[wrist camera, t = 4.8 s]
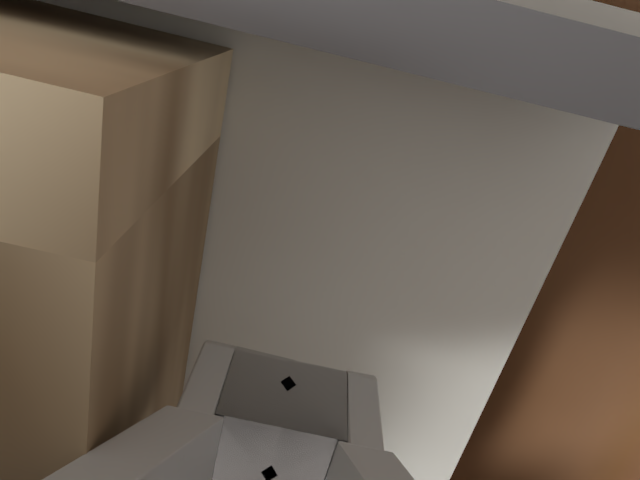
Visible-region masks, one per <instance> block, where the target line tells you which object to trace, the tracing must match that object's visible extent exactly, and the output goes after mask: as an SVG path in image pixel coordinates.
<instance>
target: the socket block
mask: <svg viewBox="0 0 640 480" xmlns="http://www.w3.org/2000/svg"><path fill="white" fill-rule="evenodd" d="M232 54H233V49H231V48H227V47H223V46H219V45H215V44H211V43H207V42H203V41H199V40H195V39H191V38H187V37H183V36H179V35H175V34H170V33H166V32H162V31H158V30H154V29H150V28H146V27H142V26H138V25H134V24H130V23H126V22H122V21H118V20H114V19H110V18H105V17H101V16H97V15H93V14H89V13H85V12H81V11H77V10H73V9H69V8H65V7H61V6H57V5H53V4H49V3H45V2H41V1H36V0H0V480H42V479H44V478H46V477H47V476H49V475H51V474H52V473H54V472H56V471H57V470H59V469H61V468H62V467H64V466H66V465H67V464H69V463H71V462H72V461H74V460H76V459H77V458H79V457H81V456H82V455H84V454H87V453H88V452H89V451H91V450H93V449H94V448H96V447H98V446H99V445H101V444H103V443H104V442H106V441H108V440H109V439H111V438H113V437H114V436H116V435H118V434H119V433H121V432H123V431H124V430H126V429H128V428H129V427H131V426H133V425H135V424H136V423H138V422H140V421H141V420H143V419H145V418H146V417H148V416H150V415H151V414H153V413H155V412H156V411H158V410H160V409H161V408H163V407H165V406H166V405H169V406H174V407H177V404H178V402H179V400H180V397H181V395H182V393H183V386H184V380H185V373H186V366H187V359H188V352H189V346H190V339H191V332H192V325H193V319H194V312H195V305H196V298H197V291H198V285H199V278H200V271H201V264H202V258H203V251H204V244H205V237H206V231H207V224H208V217H209V210H210V203H211V197H212V190H213V183H214V176H215V170H216V163H217V156H218V149H219V142H220V136H221V129H222V122H223V115H224V109H225V102H226V95H227V88H228V81H229V75H230V68H231V61H232Z"/></svg>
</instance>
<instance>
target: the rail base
mask: <svg viewBox="0 0 640 480" xmlns="http://www.w3.org/2000/svg"><path fill="white" fill-rule="evenodd" d="M36 1H41V2H45V3H49V4H53V5H57V6H61V7H65V8H69V9H73V10H77V11H81V12H85V13H89V14H93V15H97V16H101V17H105V18H110V19H114V20H118V21H122V22H126V23H130V24H134V25H138V26H142V27H146V28H150V29H154V30H158V31H162V32H166V33H170V34H175V35H179V36H183V37H187V38H191V39H195V40H199V41H203V42H207V43H211V44H215V45H219V46H223V47H227V48H231V49H233V54H232V61H231V68H230V75H229V81H228V88H227V95H226V102H225V109H224V115H223V122H222V129H221V136H220V142H219V149H218V156H217V163H216V170H215V176H214V183H213V190H212V197H211V203H210V210H209V217H208V224H207V231H206V237H205V244H204V251H203V258H202V264H201V271H200V278H199V285H198V291H197V298H196V305H195V312H194V319H193V325H192V332H191V339H190V346H189V352H188V359H187V366H186V373H185V380H184V386H183V390H184V388H185V385H186V383H187V381H188V378H189V376H190V374H191V371H192V369H193V366H194V364H195V362H196V359H197V357H198V355H199V352H200V350H201V347H202V345H203V343H204V342H205V341H206V340H212V341H216V342H221V343H225V344H229V345H234V346H235V347H237V346H239V347H243V348H247V349H251V350H255V351H260V352H264V353H268V354H272V355H276V356H280V357H285V358H289V359H293V360H296V361H300V362H305V363H310V364H314V365H319V366H324V367H329V368H333V369H338V370H343V371H346V370H347V371H353V372H358V373H363V374H369V375H374V376H375V377H376V378H377V381H378V391H379V401H380V412H381V422H382V433H383V443H384V451H389V452H393V453H394V454H395V455H396V457H397V458H398V459H399V460H400V462H401V463H402V464H403V466H404V467H405V468H406V469H407V471H408V472H409V473H410V474H411V476H412V477H413V478H414V479H415V480H450V478H451V476H452V474H453V472H454V470H455V467H456V465H457V463H458V461H459V459H460V457H461V455H462V453H463V451H464V449H465V447H466V444H467V442H468V440H469V438H470V436H471V434H472V432H473V430H474V428H475V426H476V424H477V421H478V419H479V417H480V415H481V413H482V411H483V409H484V407H485V405H486V403H487V401H488V398H489V396H490V394H491V392H492V390H493V388H494V386H495V384H496V382H497V380H498V377H499V375H500V373H501V371H502V369H503V367H504V365H505V363H506V361H507V359H508V357H509V354H510V352H511V350H512V348H513V346H514V344H515V342H516V340H517V338H518V336H519V334H520V331H521V329H522V327H523V325H524V323H525V321H526V319H527V317H528V315H529V313H530V311H531V308H532V306H533V304H534V302H535V300H536V298H537V296H538V294H539V292H540V290H541V287H542V285H543V283H544V281H545V279H546V277H547V275H548V273H549V271H550V269H551V267H552V264H553V262H554V260H555V258H556V256H557V254H558V252H559V250H560V248H561V246H562V244H563V241H564V239H565V237H566V235H567V233H568V231H569V229H570V227H571V225H572V223H573V221H574V218H575V216H576V214H577V212H578V210H579V208H580V206H581V204H582V202H583V200H584V197H585V195H586V193H587V191H588V189H589V187H590V185H591V183H592V181H593V179H594V177H595V174H596V172H597V170H598V168H599V166H600V164H601V162H602V160H603V158H604V156H605V154H606V151H607V149H608V147H609V145H610V143H611V141H612V139H613V137H614V135H615V133H616V131H617V128H618V126H619V125H621V126H625V127H629V128H633V129H637V130H640V13H639V12H635V11H631V10H627V9H623V8H619V7H616V6H612V5H608V4H604V3H600V2H596V1H593V0H36Z"/></svg>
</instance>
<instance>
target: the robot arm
mask: <svg viewBox="0 0 640 480" xmlns="http://www.w3.org/2000/svg"><path fill="white" fill-rule="evenodd" d="M42 480H415V479H414V478H413V477H412V476H411V474H410V473H409V472H408V471H407V469H406V468H405V467H404V466H403V464H402V463H401V462H400V460H399V459H398V458H397V457H396V455H395V454H394V453H393V452H389V451H384V443H383V433H382V422H381V412H380V401H379V391H378V381H377V378H376V377H375V376H374V375H369V374H363V373H358V372H353V371H347V370H346V371H343V370H338V369H333V368H329V367H324V366H319V365H314V364H310V363H305V362H300V361H296V360H293V359H289V358H285V357H280V356H276V355H272V354H268V353H264V352H260V351H255V350H251V349H247V348H243V347H239V346H237V347H235V346H234V345H229V344H225V343H221V342H216V341H212V340H206V341H205V342H204V343H203V345H202V347H201V350H200V352H199V355H198V357H197V359H196V362H195V364H194V366H193V369H192V371H191V374H190V376H189V378H188V381H187V383H186V385H185V388H184V390H183V393H182V395H181V397H180V400H179V402H178V404H177V407H174V406H169V405H166V406H165V407H163V408H161V409H160V410H158V411H156V412H155V413H153V414H151V415H150V416H148V417H146V418H145V419H143V420H141V421H140V422H138V423H136V424H135V425H133V426H131V427H129V428H128V429H126V430H124V431H123V432H121V433H119V434H118V435H116V436H114V437H113V438H111V439H109V440H108V441H106V442H104V443H103V444H101V445H99V446H98V447H96V448H94V449H93V450H91V451H89V452H88V453H87V454H84V455H82V456H81V457H79V458H77V459H76V460H74V461H72V462H71V463H69V464H67V465H66V466H64V467H62V468H61V469H59V470H57V471H56V472H54V473H52V474H51V475H49V476H47V477H46V478H44V479H42Z"/></svg>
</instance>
